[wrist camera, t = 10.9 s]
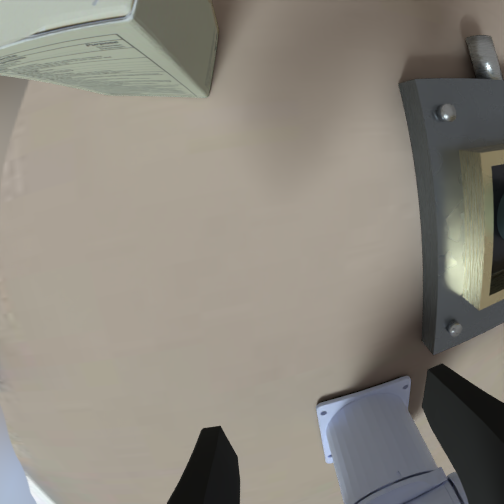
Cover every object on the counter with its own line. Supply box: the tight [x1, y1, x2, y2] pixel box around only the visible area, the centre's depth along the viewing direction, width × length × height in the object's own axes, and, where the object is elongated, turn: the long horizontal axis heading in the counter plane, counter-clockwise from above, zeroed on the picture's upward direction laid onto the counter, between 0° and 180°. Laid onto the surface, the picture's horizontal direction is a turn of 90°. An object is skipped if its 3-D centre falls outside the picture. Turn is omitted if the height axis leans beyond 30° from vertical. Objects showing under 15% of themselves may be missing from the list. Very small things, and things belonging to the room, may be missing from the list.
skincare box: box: [0, 0, 219, 98], centre depth 9 cm, size 6×4×12 cm
